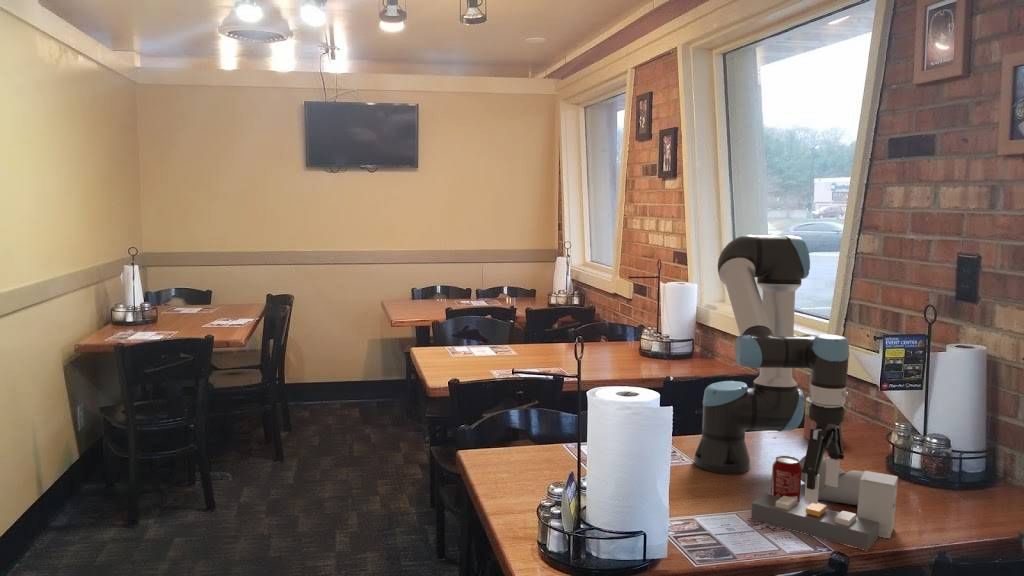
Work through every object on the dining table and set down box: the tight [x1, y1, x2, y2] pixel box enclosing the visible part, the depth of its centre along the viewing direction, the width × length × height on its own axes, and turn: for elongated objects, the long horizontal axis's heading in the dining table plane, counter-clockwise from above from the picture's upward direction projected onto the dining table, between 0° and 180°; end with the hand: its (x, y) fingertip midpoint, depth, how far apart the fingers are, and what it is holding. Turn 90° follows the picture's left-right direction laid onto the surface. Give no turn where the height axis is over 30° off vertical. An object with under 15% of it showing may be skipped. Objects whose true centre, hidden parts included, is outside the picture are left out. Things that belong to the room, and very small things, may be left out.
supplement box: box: [856, 470, 899, 540], centre depth 185 cm, size 7×7×13 cm
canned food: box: [802, 396, 845, 441], centre depth 256 cm, size 11×11×12 cm
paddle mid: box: [806, 502, 828, 517], centre depth 185 cm, size 3×5×1 cm, turn 141°
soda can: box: [770, 455, 802, 502], centre depth 199 cm, size 7×7×12 cm
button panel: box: [750, 493, 879, 551], centre depth 186 cm, size 26×8×5 cm, turn 50°
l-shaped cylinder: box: [799, 455, 864, 507], centre depth 207 cm, size 18×11×20 cm
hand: (821, 493), depth 187 cm, fingers open, 13 cm apart
